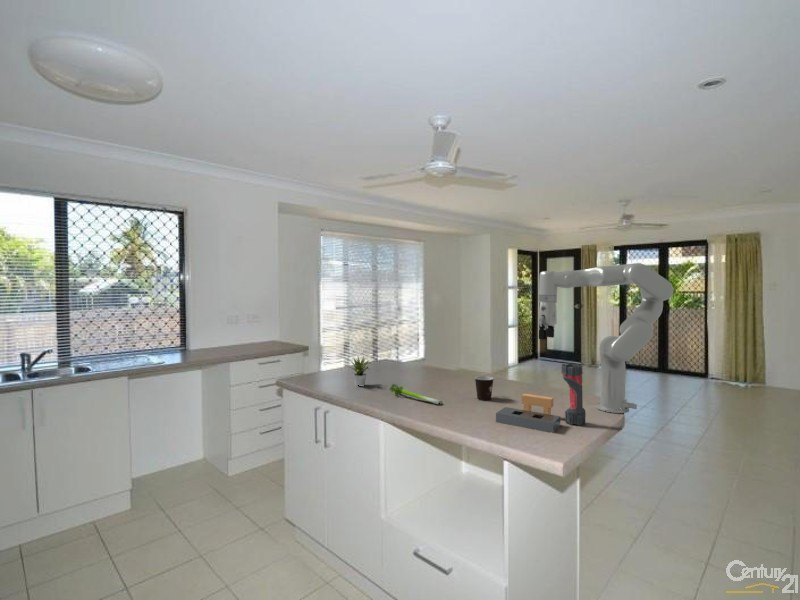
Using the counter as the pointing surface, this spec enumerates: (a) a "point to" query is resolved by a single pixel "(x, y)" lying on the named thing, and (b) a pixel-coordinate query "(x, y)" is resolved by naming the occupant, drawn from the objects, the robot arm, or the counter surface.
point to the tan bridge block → (537, 402)
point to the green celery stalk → (412, 394)
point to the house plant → (360, 371)
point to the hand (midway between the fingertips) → (546, 338)
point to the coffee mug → (484, 387)
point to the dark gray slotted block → (528, 419)
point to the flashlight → (574, 394)
